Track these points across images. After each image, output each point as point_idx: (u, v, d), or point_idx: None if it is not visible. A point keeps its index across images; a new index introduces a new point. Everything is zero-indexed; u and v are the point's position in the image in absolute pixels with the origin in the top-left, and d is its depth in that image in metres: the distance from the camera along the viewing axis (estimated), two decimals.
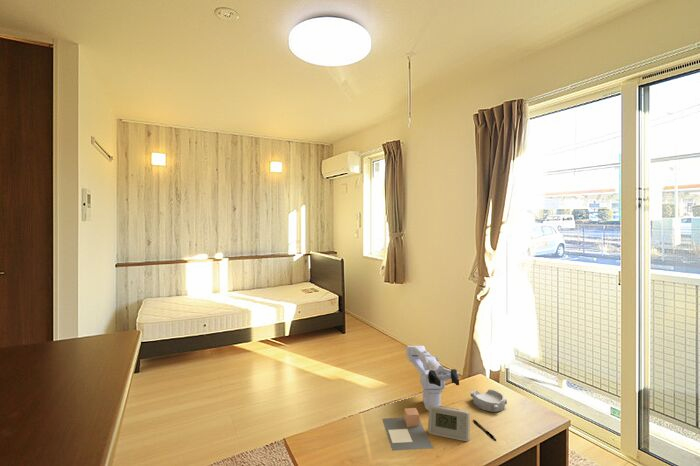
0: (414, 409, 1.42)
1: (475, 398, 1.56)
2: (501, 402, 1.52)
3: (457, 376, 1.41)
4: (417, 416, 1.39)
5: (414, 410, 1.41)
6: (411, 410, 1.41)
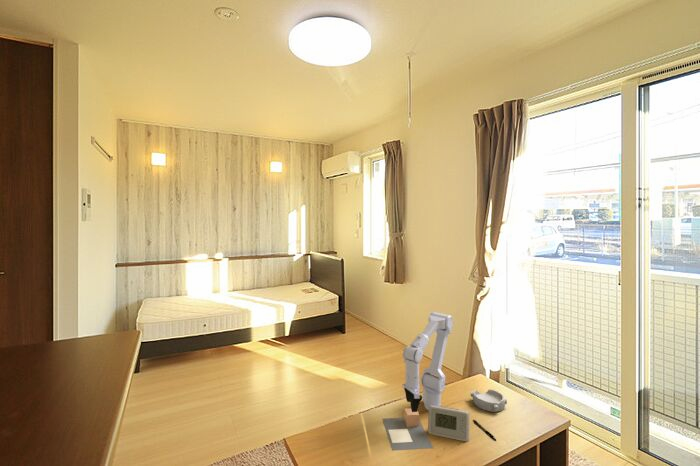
0: None
1: (475, 398, 1.56)
2: (501, 402, 1.52)
3: None
4: (417, 416, 1.39)
5: None
6: (411, 410, 1.41)
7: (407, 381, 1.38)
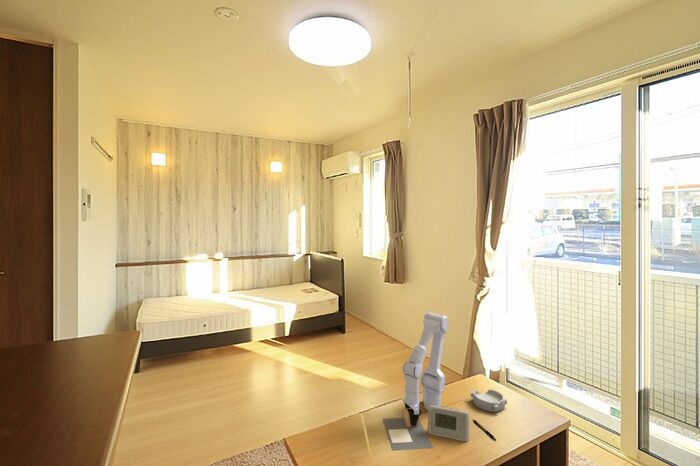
0: None
1: (475, 398, 1.56)
2: (501, 402, 1.52)
3: None
4: None
5: None
6: None
7: (407, 396, 1.39)
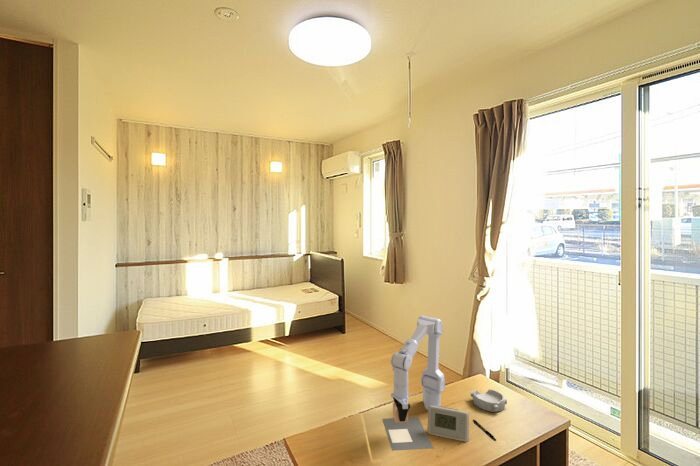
0: None
1: (475, 398, 1.56)
2: (501, 402, 1.52)
3: None
4: None
5: None
6: None
7: (396, 389, 1.30)
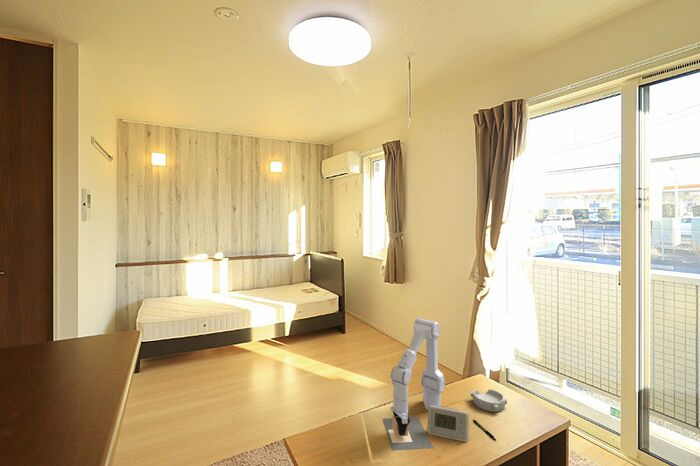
0: None
1: (475, 398, 1.56)
2: (501, 402, 1.52)
3: None
4: None
5: None
6: None
7: (395, 403, 1.30)
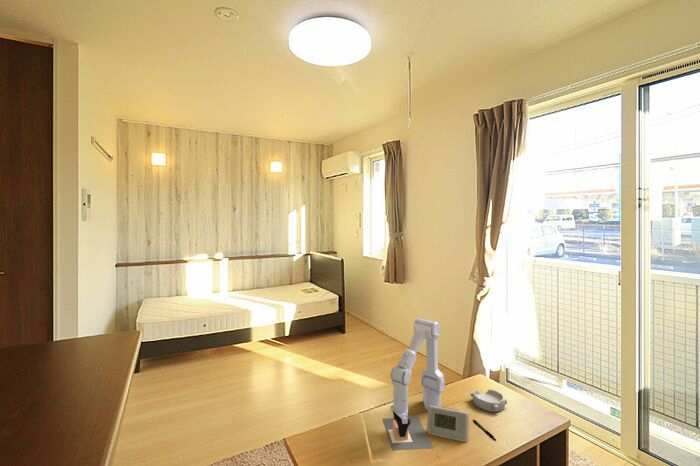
0: None
1: (475, 398, 1.56)
2: (501, 402, 1.52)
3: None
4: None
5: None
6: None
7: (395, 404, 1.30)
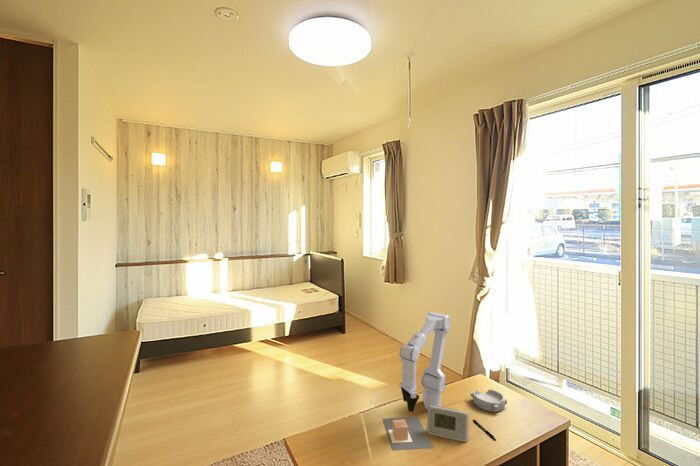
0: (403, 421, 1.34)
1: (475, 398, 1.56)
2: (501, 402, 1.52)
3: None
4: (406, 429, 1.30)
5: (403, 422, 1.33)
6: (400, 422, 1.33)
7: (404, 380, 1.36)
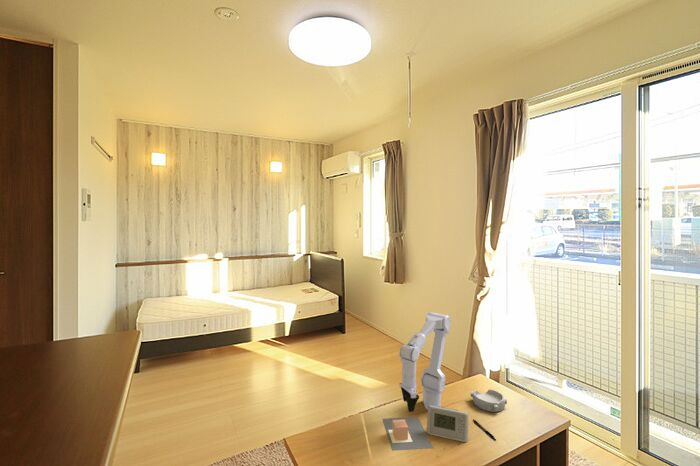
0: (403, 421, 1.34)
1: (475, 398, 1.56)
2: (501, 402, 1.52)
3: None
4: (406, 429, 1.30)
5: (403, 422, 1.33)
6: (400, 422, 1.33)
7: (404, 380, 1.36)
